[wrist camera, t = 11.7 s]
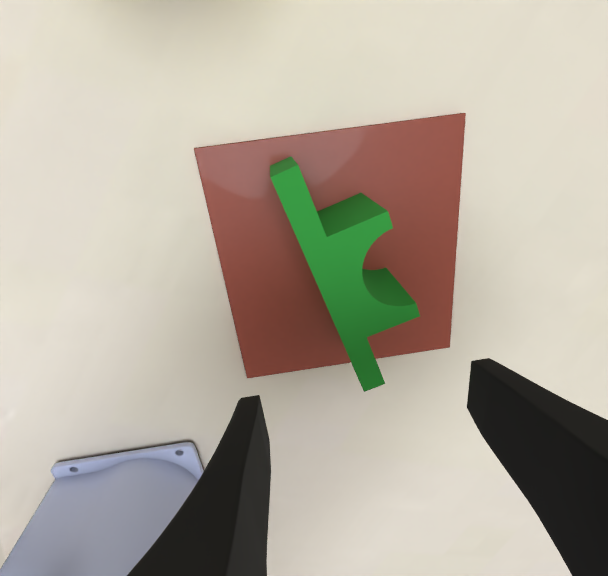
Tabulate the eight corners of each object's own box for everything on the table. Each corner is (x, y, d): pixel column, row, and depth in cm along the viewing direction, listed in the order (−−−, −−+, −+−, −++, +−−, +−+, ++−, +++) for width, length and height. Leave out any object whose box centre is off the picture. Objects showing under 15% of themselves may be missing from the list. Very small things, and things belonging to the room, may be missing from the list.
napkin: (247, 375, 22) (247, 378, 22) (195, 148, 17) (193, 148, 16) (447, 344, 23) (449, 347, 22) (462, 113, 17) (465, 112, 17)
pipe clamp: (403, 318, 21) (435, 365, 17) (345, 341, 22) (364, 392, 18) (341, 132, 17) (365, 134, 13) (269, 164, 17) (269, 177, 13)
